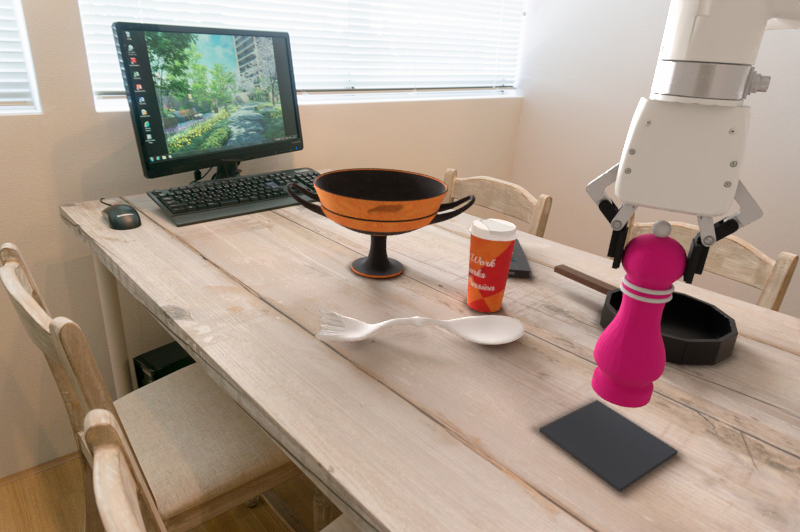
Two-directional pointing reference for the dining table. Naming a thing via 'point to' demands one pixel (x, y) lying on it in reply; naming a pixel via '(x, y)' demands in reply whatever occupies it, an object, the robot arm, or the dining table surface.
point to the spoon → (468, 328)
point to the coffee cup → (489, 263)
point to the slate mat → (608, 444)
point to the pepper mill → (639, 320)
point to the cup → (380, 208)
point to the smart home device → (519, 263)
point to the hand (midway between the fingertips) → (651, 270)
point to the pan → (674, 323)
